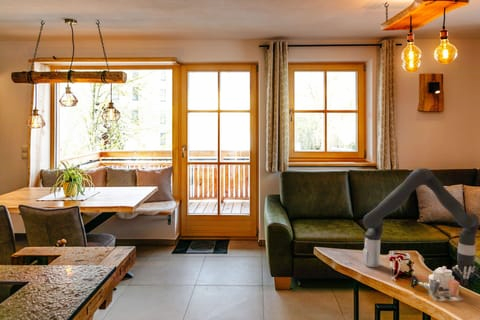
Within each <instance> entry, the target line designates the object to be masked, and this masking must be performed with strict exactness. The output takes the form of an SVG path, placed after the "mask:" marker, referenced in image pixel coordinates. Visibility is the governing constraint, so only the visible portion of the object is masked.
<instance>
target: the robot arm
mask: <svg viewBox="0 0 480 320" xmlns="http://www.w3.org/2000/svg"><path fill="white" fill-rule="evenodd" d="M421 186H426V187H427V188H428V189H429V190H431V191H432V192H433V194H434V195H435V197H436V198H437V200H438V201H439V203H440V204H441V205H442V207H444V209H445V210H446V211H447V212H449V213H450V214H451V216H452V218H453V220H455V222H456V223H457V224H458V226H459V227H462V230H461V231H460V232H459V235H458V236H459V237H458V245H457V253H456V254H457V258H456V259H457V262H456V265H454V266H451V270H452V271H453V272H454V273H455V275H456V276H457V277H459V278H460V281H459V283H460V284H461V285H462V286H463V287H464V286H465V287H466V286H468V280H469V278H471V279H472V278H473V277H474V276H475V275H476V273H477V272H478V271H479V268H478V267H476V266H475V257H476V235H477V232H478V229H479V225H480V219H479V216H478V215H477V214H476V213H473V212H468V213H467V212H466V211H465V210H464V209H463V208H464V206H463V204H462V203H461V202H460V201H459V200H458V199H457V198H456V197H454V195H452V194H451V193H450V192H449V190H447V189H446V188H445V186H444V185H443V184H442V183H441V181H440V180H439V179H438V178H437V177H436V175H435V174H434V173H433V172H432V171H431V169H428V168H425V167H424V168H423V167H422V168H415V169H414V170H413V171H412V172H410V174H409V175H408V176H406V179H405V180H404V181H403V182H402V183H400V185H398V186H397V187H396V188H395V189H394V190H392V191H391V192H390V193H389V194H388V195H387V196H386V197H385V198H384V199H383V200H382V201H381V202H380V203H379V204H378V205H377V206H376V207H375V208H373V209H372V210H370V212H367V214H365V215H364V216H363V218H362V224H363V226H364V227H365V228H367V231H366V232H365V234H364V248H363V249H362V264H363V265H364V267H368V268H378V267H380V262H381V260H380V257H381V256H380V255H381V239H382V238H381V236H382V234H383V230H384V229H383V228H384V227H383V226H384V218H385V217H387V216H389V215H390V214H392V213H394V212H395V211H397V210H398V209H400V208H401V207H402V206H403V205H404V204H405V203H406V202H407V201H408V199H409V197H410V195H412V193H413V192H414V191H415V190H416V189H418V188H420V187H421Z"/></svg>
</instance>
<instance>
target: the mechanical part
mask: <svg viewBox="0 0 480 320" xmlns="http://www.w3.org/2000/svg"><path fill="white" fill-rule="evenodd" d="M429 280H436V281H438V282H439V288H442V291H445V290H449V289H448V288H449V280H455V276H454V275H453V270H452V269H447V266H444V265H443V266H442V267H439V266H438V268H436V269H434V271H433V272H432V273H431V274H429V275H428V281H429Z"/></svg>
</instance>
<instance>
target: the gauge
mask: <svg viewBox="0 0 480 320" xmlns="http://www.w3.org/2000/svg"><path fill="white" fill-rule="evenodd" d="M430 290H431V293H428V296H429V297H430V298H431V299H433V300H434V301H435V302H465V301H464V298H463V297H462V296H460V295H459V293H460V292H459V293H458V297H456V295H452V292H451V291H449V290H440V287H439V282H438V281H436V280H430Z"/></svg>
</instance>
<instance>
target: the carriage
mask: <svg viewBox="0 0 480 320" xmlns="http://www.w3.org/2000/svg"><path fill="white" fill-rule="evenodd" d="M460 284H461V283H460V281H458V280H456V279H454V280H449V288H448V289H447V290H448V291H451V292H452V295H456V297H458V293H460Z"/></svg>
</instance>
